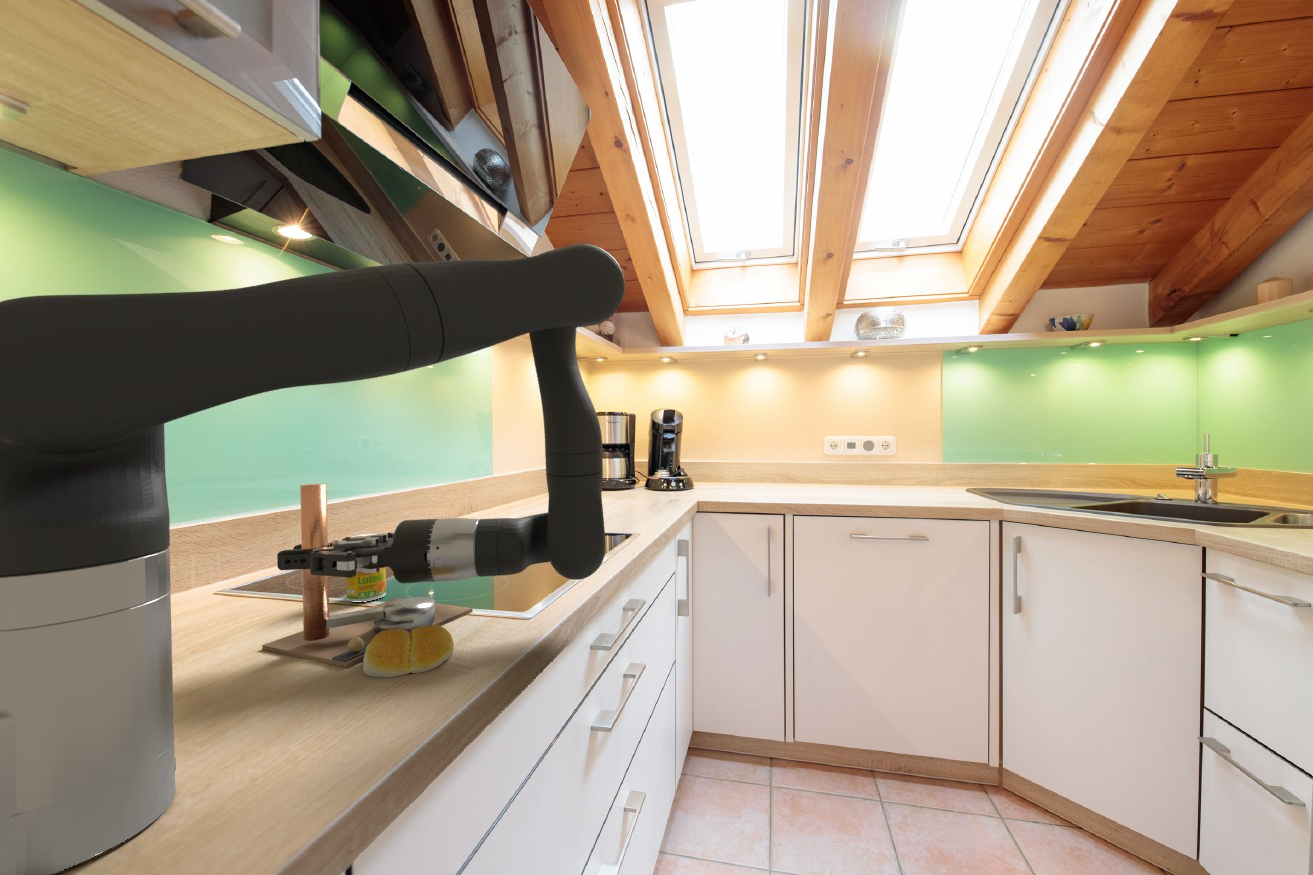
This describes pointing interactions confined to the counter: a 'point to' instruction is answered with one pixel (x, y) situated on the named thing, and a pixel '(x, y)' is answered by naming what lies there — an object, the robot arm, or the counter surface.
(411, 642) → the bread roll
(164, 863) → the counter surface
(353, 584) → the supplement bottle
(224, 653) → the counter surface
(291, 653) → the stand
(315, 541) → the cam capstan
